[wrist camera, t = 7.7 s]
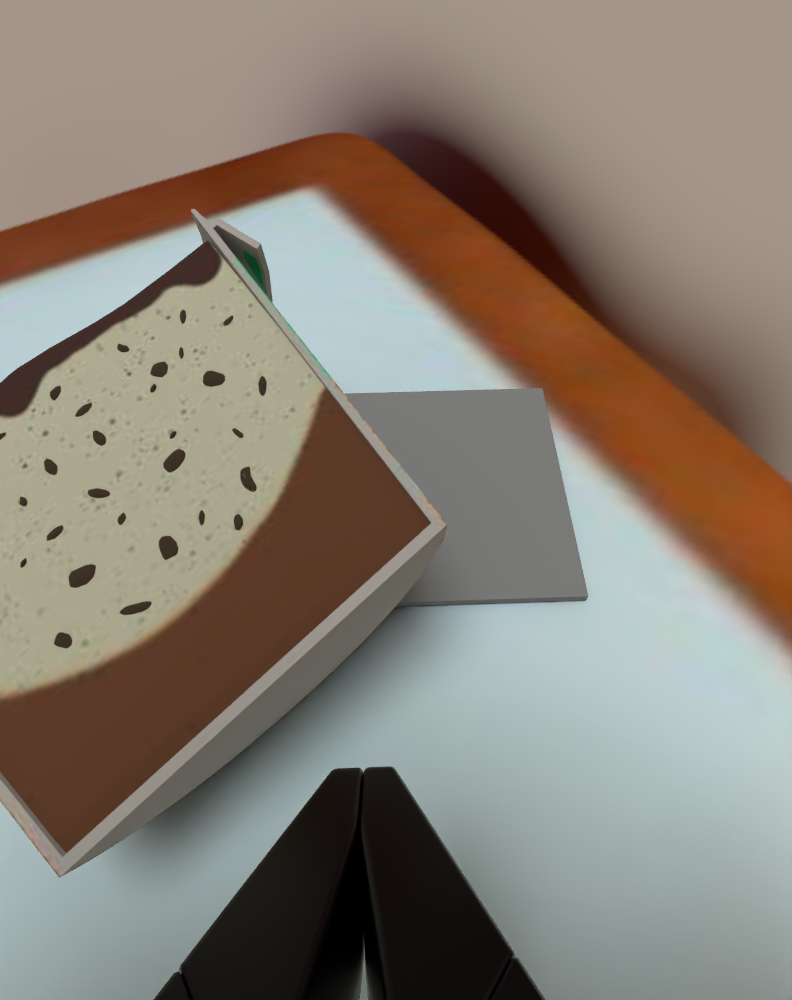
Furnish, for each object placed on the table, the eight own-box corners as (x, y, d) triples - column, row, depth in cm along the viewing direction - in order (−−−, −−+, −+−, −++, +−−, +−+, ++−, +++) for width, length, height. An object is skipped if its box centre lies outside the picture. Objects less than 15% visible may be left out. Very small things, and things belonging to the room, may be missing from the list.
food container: (480, 541, 18) (277, 334, 20) (501, 474, 12) (210, 195, 14) (154, 843, 16) (-23, 575, 18) (-13, 942, 10) (-239, 528, 13)
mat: (585, 600, 17) (588, 596, 17) (171, 613, 17) (167, 609, 17) (540, 394, 21) (542, 388, 21) (209, 403, 21) (207, 397, 21)
